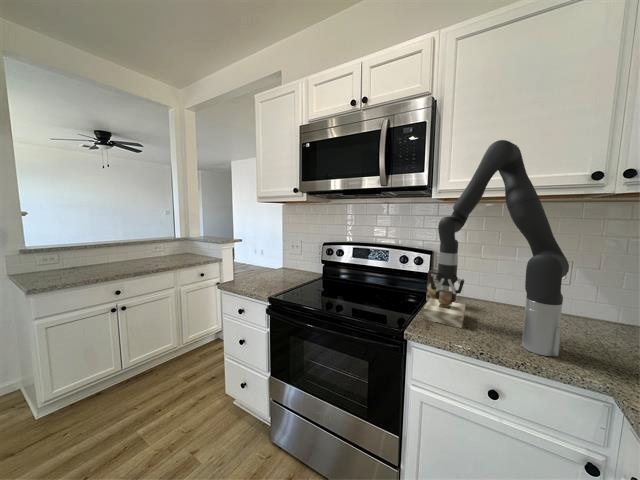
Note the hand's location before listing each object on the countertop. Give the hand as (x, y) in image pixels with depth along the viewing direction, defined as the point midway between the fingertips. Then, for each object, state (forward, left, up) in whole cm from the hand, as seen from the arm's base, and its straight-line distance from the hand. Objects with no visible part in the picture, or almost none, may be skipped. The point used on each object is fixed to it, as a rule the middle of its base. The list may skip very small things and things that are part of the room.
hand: (445, 300), depth 115 cm
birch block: (0, 0, -8) cm, 8 cm away
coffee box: (+6, -20, -8) cm, 22 cm away
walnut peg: (0, 0, -5) cm, 5 cm away
